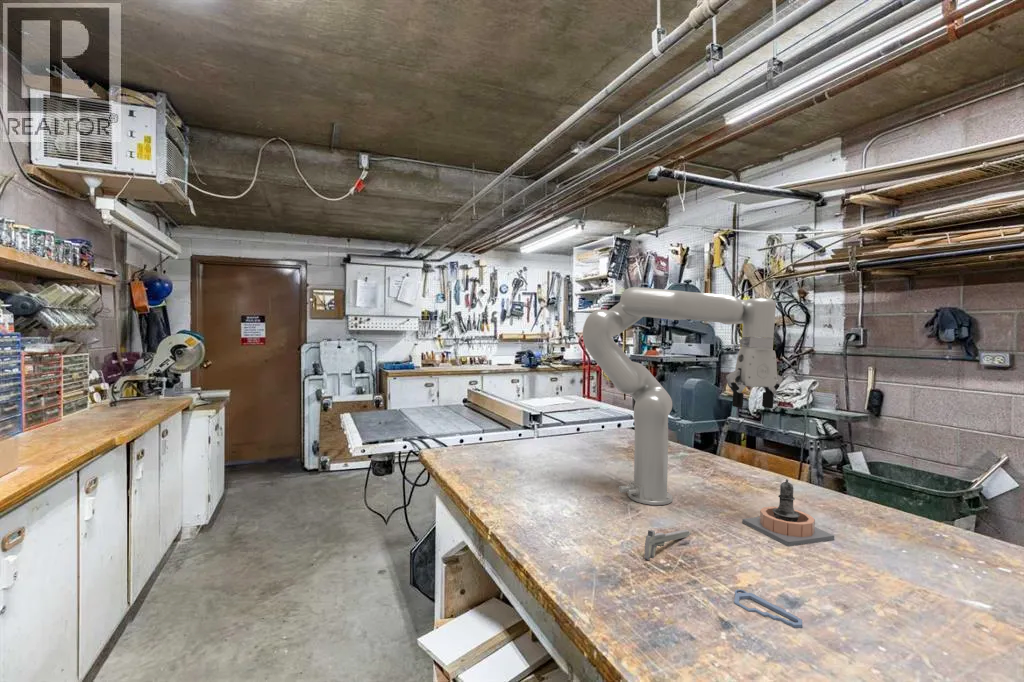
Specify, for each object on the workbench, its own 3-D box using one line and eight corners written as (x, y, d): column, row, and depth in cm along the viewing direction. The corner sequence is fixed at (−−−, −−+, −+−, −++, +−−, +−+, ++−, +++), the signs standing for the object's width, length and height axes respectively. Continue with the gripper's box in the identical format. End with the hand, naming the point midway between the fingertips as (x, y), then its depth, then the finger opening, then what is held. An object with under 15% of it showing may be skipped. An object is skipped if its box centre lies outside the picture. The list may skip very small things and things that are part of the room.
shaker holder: (788, 546, 108) (788, 529, 108) (742, 522, 121) (742, 507, 121) (834, 539, 112) (834, 523, 112) (784, 517, 125) (785, 502, 125)
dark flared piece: (796, 524, 119) (797, 476, 118) (802, 533, 113) (803, 483, 113) (770, 520, 120) (771, 474, 120) (774, 529, 115) (776, 480, 115)
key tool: (791, 638, 76) (807, 625, 78) (791, 632, 76) (807, 620, 78) (724, 602, 86) (740, 592, 89) (724, 597, 86) (740, 587, 88)
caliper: (648, 562, 100) (649, 533, 99) (644, 560, 100) (644, 531, 100) (691, 535, 114) (691, 509, 114) (687, 533, 115) (687, 508, 115)
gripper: (740, 343, 120) (735, 409, 121) (794, 346, 125) (789, 410, 125) (720, 342, 128) (715, 404, 128) (772, 345, 132) (768, 405, 133)
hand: (752, 407), depth 127 cm, fingers open, 9 cm apart
